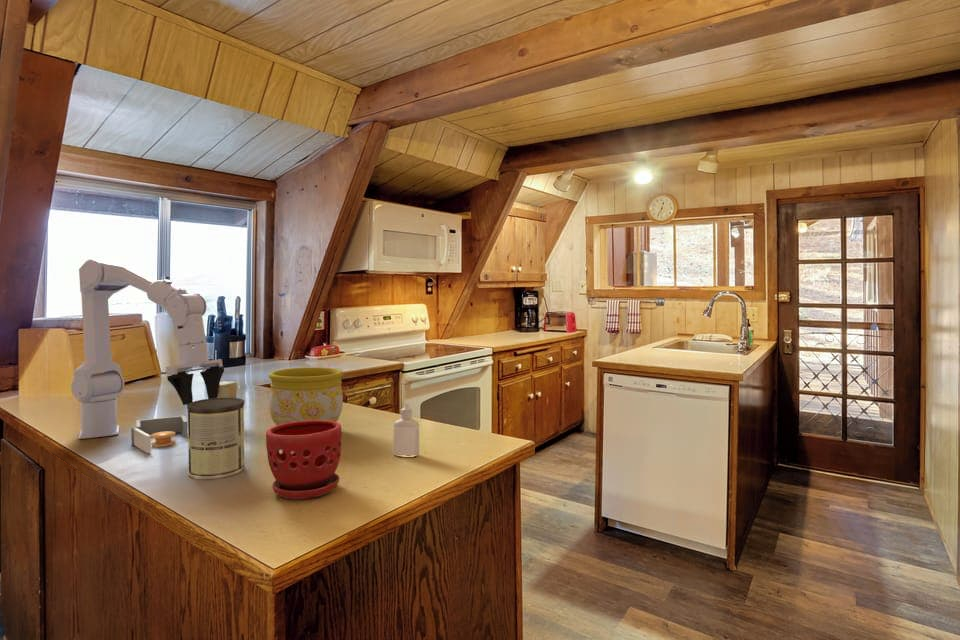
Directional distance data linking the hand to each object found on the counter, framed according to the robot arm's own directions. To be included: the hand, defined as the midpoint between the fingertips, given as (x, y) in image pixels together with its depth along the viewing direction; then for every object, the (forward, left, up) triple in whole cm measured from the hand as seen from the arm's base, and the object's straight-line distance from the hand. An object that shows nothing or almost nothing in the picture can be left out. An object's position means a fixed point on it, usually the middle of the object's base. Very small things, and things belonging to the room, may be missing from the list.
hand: (200, 401), depth 122 cm
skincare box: (-15, +7, -11) cm, 20 cm away
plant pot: (+42, +13, -11) cm, 45 cm away
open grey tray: (-13, -7, -11) cm, 19 cm away
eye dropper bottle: (+33, +38, -11) cm, 51 cm away
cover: (-4, -12, -11) cm, 16 cm away
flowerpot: (+4, +24, -11) cm, 26 cm away
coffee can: (+22, +1, -11) cm, 24 cm away
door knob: (-6, -7, -11) cm, 15 cm away
